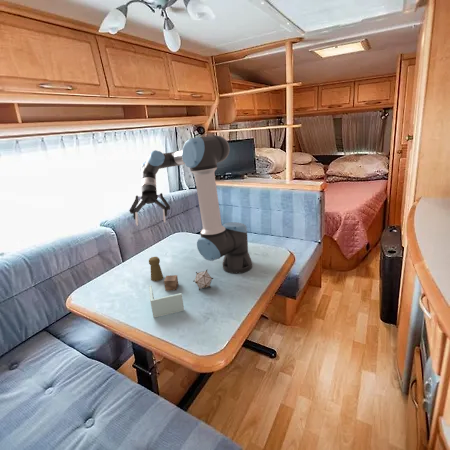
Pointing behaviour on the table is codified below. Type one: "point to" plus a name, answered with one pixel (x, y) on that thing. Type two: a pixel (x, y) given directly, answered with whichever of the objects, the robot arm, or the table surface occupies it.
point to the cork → (155, 269)
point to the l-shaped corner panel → (166, 304)
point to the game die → (203, 279)
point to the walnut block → (171, 282)
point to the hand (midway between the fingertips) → (150, 223)
